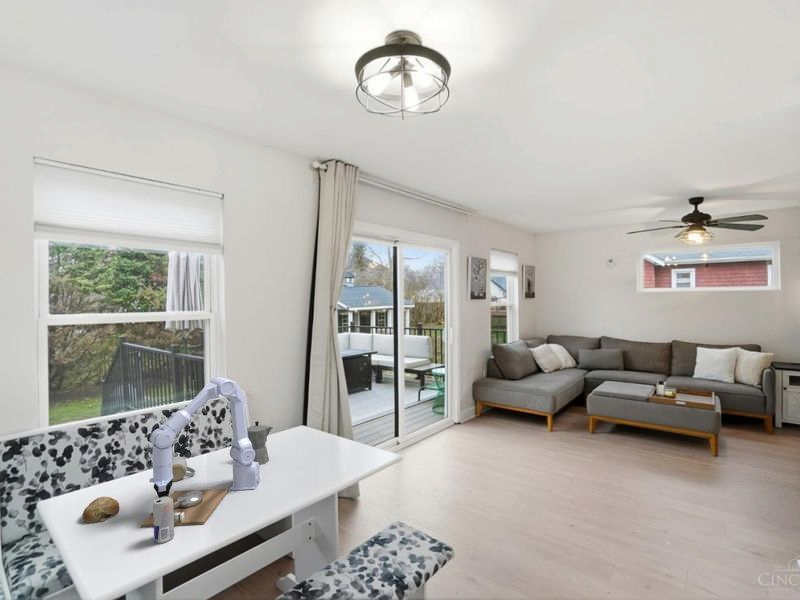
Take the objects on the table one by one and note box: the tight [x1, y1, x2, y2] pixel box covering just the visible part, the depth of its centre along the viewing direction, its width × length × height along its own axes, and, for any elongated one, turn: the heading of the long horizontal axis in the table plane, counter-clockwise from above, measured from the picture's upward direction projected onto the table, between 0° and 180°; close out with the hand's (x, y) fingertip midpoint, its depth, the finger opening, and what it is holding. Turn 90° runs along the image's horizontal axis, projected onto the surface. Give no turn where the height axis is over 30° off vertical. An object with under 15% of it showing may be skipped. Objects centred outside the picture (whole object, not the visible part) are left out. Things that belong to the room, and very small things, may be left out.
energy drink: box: [152, 495, 175, 544], centre depth 128 cm, size 5×5×12 cm
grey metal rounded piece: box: [173, 491, 203, 509], centre depth 145 cm, size 14×8×5 cm, turn 141°
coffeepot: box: [247, 420, 273, 466], centre depth 185 cm, size 15×9×18 cm, turn 103°
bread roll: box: [82, 496, 120, 524], centre depth 142 cm, size 10×10×8 cm
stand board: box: [140, 487, 230, 529], centre depth 146 cm, size 20×23×4 cm
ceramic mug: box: [172, 456, 196, 482], centre depth 171 cm, size 11×8×8 cm
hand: (163, 503), depth 143 cm, fingers closed
